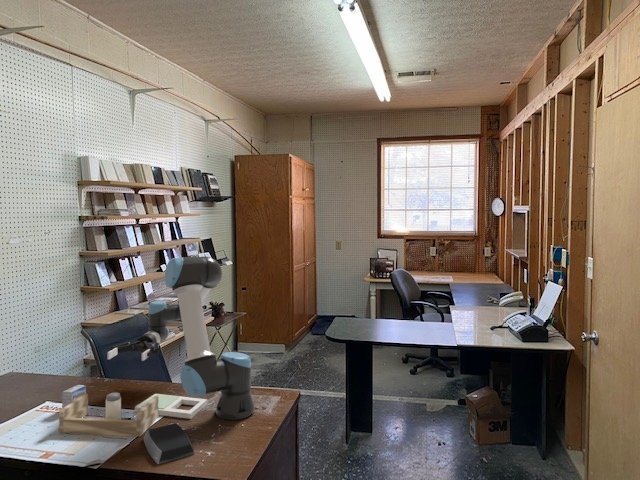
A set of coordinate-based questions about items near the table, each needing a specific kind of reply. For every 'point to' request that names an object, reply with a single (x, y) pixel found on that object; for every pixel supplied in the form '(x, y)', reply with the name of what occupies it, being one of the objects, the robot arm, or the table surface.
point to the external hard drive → (167, 443)
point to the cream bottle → (113, 406)
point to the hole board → (175, 405)
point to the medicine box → (72, 394)
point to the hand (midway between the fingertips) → (125, 356)
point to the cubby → (105, 420)
